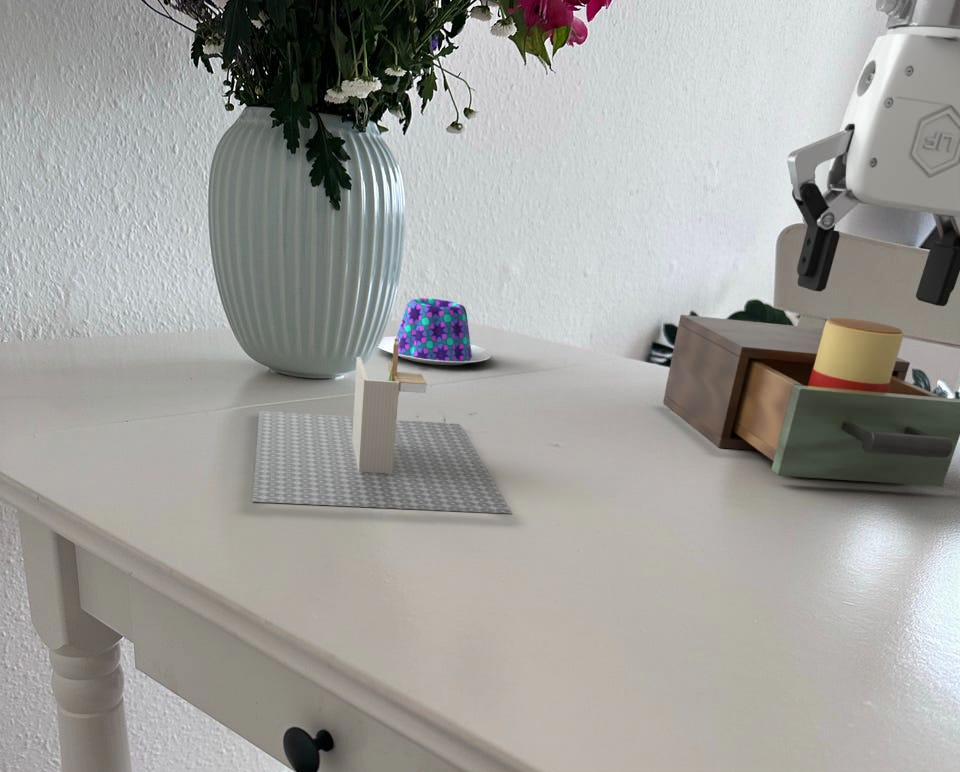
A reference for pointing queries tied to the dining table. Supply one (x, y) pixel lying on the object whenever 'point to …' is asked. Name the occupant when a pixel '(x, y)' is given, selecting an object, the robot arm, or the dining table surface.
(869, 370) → the biscuit roll
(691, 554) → the dining table surface
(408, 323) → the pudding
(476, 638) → the dining table surface
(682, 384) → the cabinet
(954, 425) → the drawer
